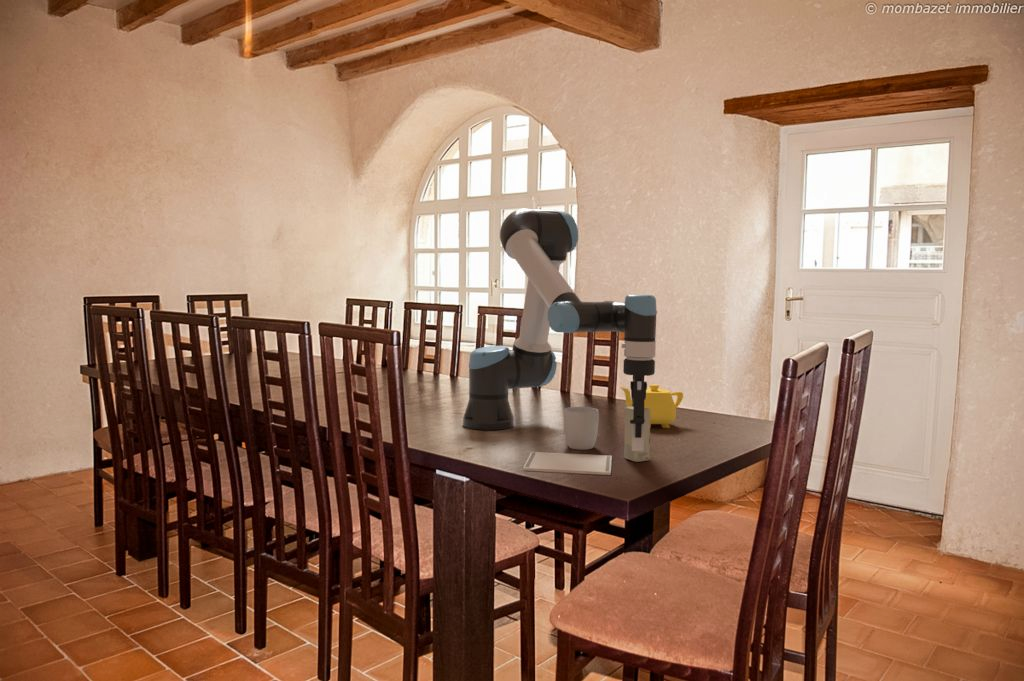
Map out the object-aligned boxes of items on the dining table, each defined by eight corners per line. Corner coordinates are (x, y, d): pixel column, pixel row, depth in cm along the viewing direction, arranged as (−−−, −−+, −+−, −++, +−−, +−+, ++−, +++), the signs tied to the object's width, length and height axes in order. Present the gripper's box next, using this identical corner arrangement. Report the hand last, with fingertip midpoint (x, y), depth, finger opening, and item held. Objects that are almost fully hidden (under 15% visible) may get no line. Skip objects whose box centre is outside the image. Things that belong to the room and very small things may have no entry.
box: (650, 460, 182) (651, 408, 180) (636, 462, 179) (637, 410, 178) (636, 456, 186) (637, 405, 185) (622, 458, 184) (623, 406, 183)
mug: (603, 450, 192) (604, 412, 191) (570, 452, 189) (571, 413, 189) (585, 439, 204) (586, 403, 203) (554, 441, 202) (555, 404, 201)
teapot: (612, 421, 231) (613, 381, 230) (674, 420, 233) (675, 381, 232) (624, 430, 217) (626, 388, 216) (690, 429, 220) (691, 387, 219)
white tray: (531, 454, 187) (531, 451, 187) (611, 458, 184) (611, 455, 184) (522, 470, 171) (522, 467, 171) (610, 475, 168) (610, 472, 168)
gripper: (623, 353, 193) (621, 433, 195) (623, 363, 169) (621, 455, 171) (653, 353, 192) (650, 434, 194) (657, 364, 168) (654, 456, 169)
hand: (637, 444), depth 182 cm, fingers open, 13 cm apart
